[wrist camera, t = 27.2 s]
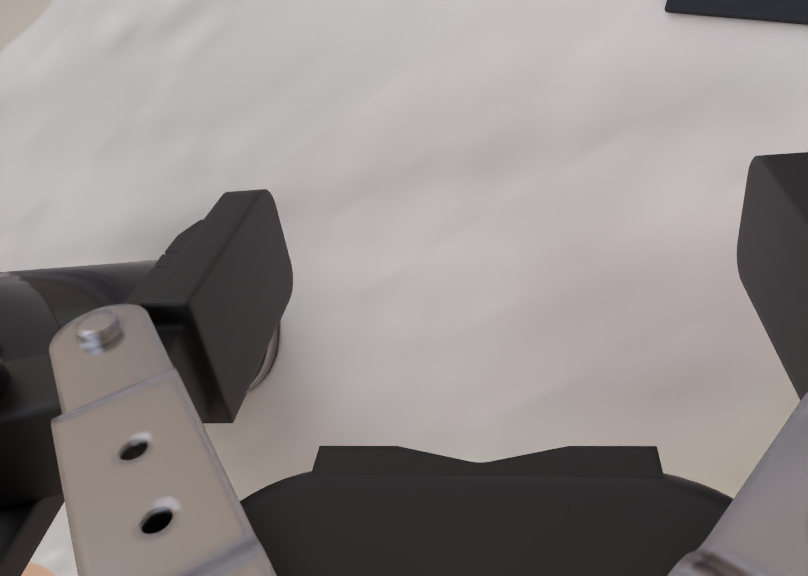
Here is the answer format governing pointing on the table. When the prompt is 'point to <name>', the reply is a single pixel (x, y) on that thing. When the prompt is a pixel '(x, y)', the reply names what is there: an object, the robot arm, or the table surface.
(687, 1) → the desk pad
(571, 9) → the table surface
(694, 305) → the table surface
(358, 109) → the table surface
